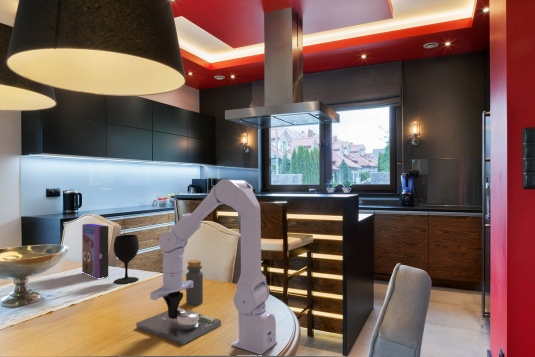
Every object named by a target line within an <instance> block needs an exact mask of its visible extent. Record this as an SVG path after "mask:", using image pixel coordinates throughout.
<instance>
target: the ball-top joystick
mask: <svg viewBox="0 0 535 357" xmlns="http://www.w3.org/2000/svg"><path fill="white" fill-rule="evenodd" d="M185 310H186V309H184V308H181V307H179V306H178V311H177V318H176V319H177V327H178V328H179V329H181V330H190V329H194V328H196V327H198V325H199V314H200V313H199V312H198V311H195V310H194V311H193V310H187V311H186V312H185Z"/></svg>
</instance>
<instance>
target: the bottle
mask: <svg viewBox="0 0 535 357" xmlns="http://www.w3.org/2000/svg"><path fill="white" fill-rule="evenodd" d="M201 263H202V260H201V259H191V260H187V264H188V265H187V267H186V270H188V272H187V273H185V274H186V275H185V281H188V280H190V281H193V287H192V288H187V289H185V290H186V292H185V295H186V296H185V300H186V301H185V302H186V305H187V306H192V307H194V306H199V305H202V304H203V303H204V296H203V295H204V294H203V293H204V279H203V278H204V274H203V272H202V271H201V269H203V266H202V264H201Z"/></svg>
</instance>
